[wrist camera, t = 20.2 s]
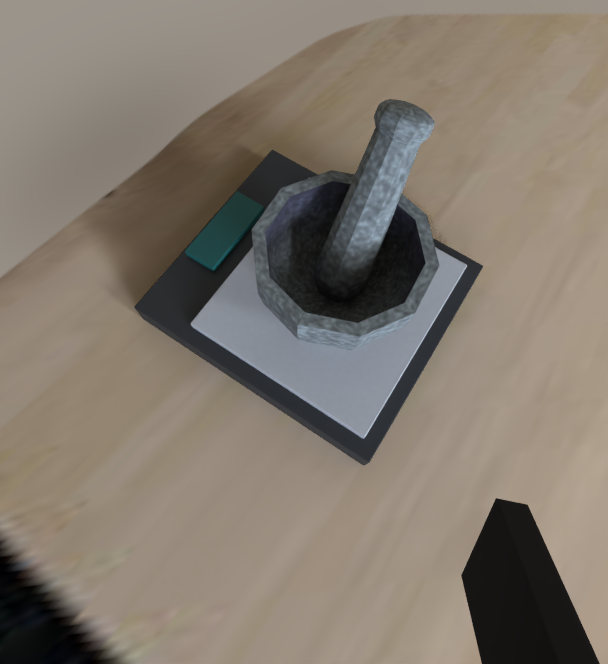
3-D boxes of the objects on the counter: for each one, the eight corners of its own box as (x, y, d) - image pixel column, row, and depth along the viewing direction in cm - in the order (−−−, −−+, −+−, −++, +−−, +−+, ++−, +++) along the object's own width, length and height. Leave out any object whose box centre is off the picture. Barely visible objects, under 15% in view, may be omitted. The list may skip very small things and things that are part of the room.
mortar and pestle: (362, 402, 28) (413, 332, 16) (231, 329, 29) (196, 219, 18) (435, 261, 31) (518, 125, 20) (316, 203, 33) (331, 45, 22)
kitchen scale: (142, 318, 32) (130, 303, 29) (272, 167, 37) (271, 143, 35) (363, 465, 29) (370, 462, 26) (472, 278, 34) (487, 261, 32)
